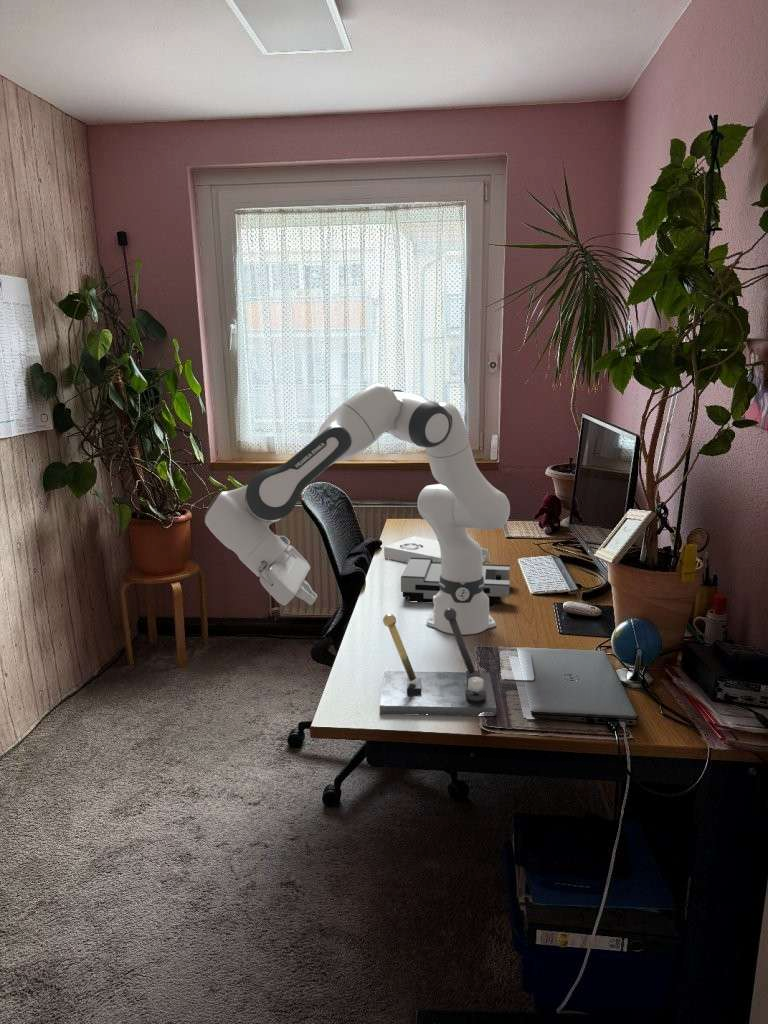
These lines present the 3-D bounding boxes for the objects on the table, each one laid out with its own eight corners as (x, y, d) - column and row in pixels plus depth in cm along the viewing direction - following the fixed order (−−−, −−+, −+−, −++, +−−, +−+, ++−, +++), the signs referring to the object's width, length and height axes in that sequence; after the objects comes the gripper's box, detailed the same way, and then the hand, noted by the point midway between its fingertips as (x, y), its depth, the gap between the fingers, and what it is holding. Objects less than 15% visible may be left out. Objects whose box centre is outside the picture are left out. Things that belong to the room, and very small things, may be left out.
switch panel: (384, 679, 159) (384, 666, 158) (489, 681, 158) (489, 668, 157) (379, 714, 144) (379, 700, 143) (496, 716, 142) (496, 702, 141)
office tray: (508, 608, 203) (509, 582, 201) (401, 603, 208) (400, 577, 207) (508, 585, 223) (509, 561, 221) (410, 581, 228) (410, 557, 227)
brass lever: (406, 677, 152) (381, 614, 149) (418, 674, 151) (393, 610, 148) (406, 683, 149) (380, 619, 146) (418, 679, 149) (393, 615, 146)
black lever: (465, 670, 155) (441, 608, 152) (477, 667, 154) (453, 604, 151) (466, 676, 152) (442, 613, 149) (478, 672, 152) (454, 608, 149)
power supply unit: (460, 576, 234) (461, 561, 233) (383, 559, 254) (383, 546, 253) (488, 562, 249) (488, 549, 248) (413, 548, 268) (413, 536, 267)
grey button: (467, 684, 147) (467, 676, 147) (482, 684, 147) (482, 676, 146) (468, 691, 144) (468, 683, 143) (483, 691, 144) (484, 683, 143)
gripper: (265, 560, 135) (316, 608, 137) (286, 534, 155) (330, 576, 157) (244, 581, 136) (295, 629, 138) (267, 553, 156) (311, 594, 158)
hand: (314, 600), depth 147 cm, fingers closed
